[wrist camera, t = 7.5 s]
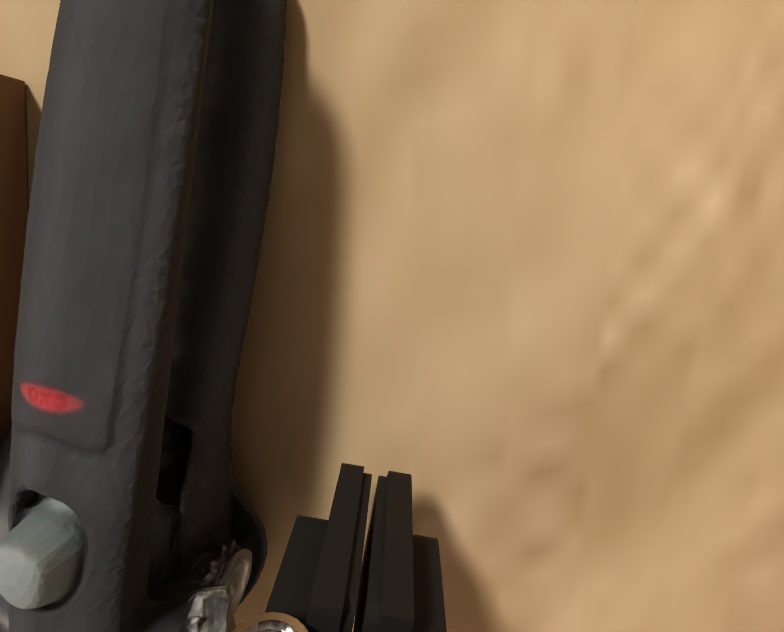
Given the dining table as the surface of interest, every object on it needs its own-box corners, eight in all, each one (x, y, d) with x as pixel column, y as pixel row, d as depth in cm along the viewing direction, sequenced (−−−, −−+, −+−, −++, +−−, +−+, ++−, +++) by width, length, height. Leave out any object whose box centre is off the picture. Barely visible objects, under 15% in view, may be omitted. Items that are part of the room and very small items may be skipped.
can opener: (263, 635, 14) (176, 907, 9) (31, 581, 14) (-204, 827, 9) (422, -24, 10) (442, -286, 4) (87, -120, 10) (-328, -526, 4)
